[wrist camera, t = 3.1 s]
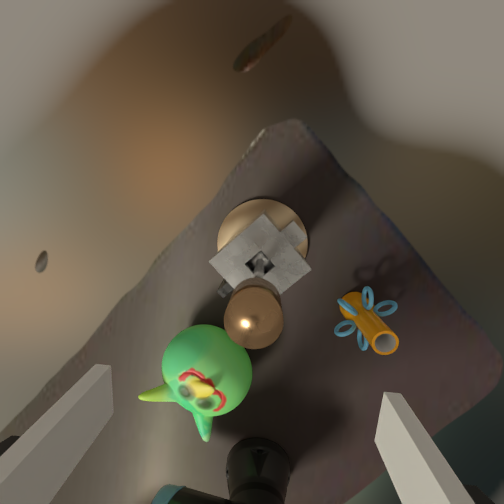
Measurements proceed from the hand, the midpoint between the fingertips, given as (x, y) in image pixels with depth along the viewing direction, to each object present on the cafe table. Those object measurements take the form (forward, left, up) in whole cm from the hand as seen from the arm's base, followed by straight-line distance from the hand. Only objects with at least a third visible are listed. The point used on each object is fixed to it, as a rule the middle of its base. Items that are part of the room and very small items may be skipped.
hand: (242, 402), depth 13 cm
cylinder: (-22, -7, -42) cm, 48 cm away
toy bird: (-11, +23, -42) cm, 49 cm away
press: (0, -1, -41) cm, 41 cm away
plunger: (0, -1, -27) cm, 27 cm away
